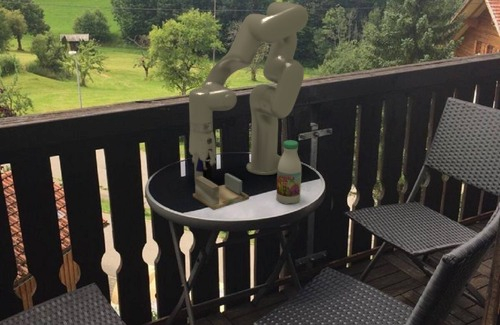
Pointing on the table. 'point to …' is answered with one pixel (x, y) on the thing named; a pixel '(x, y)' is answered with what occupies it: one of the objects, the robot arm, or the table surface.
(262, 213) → the table surface
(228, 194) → the board
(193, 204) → the table surface
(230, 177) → the grey rectangular plate
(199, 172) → the energy drink
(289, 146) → the milk bottle
